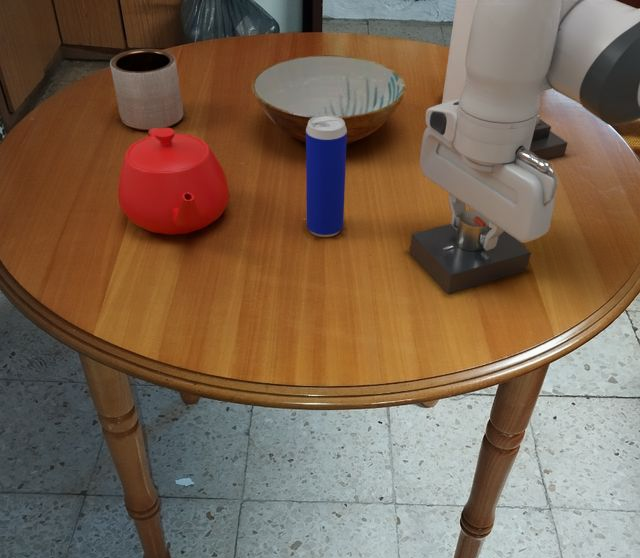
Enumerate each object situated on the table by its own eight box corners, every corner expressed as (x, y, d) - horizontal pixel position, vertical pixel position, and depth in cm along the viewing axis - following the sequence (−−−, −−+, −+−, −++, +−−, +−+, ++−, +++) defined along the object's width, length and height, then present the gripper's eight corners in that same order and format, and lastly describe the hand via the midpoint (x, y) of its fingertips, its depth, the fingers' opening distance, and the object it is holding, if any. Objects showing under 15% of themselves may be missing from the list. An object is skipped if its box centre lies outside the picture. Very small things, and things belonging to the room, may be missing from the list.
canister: (527, 118, 120) (558, -11, 105) (454, 123, 118) (474, -8, 103) (502, 87, 128) (527, -36, 114) (433, 91, 127) (449, -33, 112)
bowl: (358, 92, 127) (361, 45, 121) (429, 149, 112) (436, 99, 106) (233, 116, 119) (228, 68, 113) (290, 181, 104) (289, 129, 98)
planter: (140, 138, 113) (128, 79, 106) (110, 116, 119) (97, 58, 112) (195, 121, 118) (188, 62, 111) (164, 100, 124) (155, 43, 116)
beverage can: (338, 217, 98) (341, 112, 86) (346, 236, 94) (351, 129, 83) (303, 221, 97) (302, 115, 86) (310, 240, 93) (310, 133, 82)
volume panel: (483, 233, 95) (487, 212, 93) (525, 271, 89) (531, 251, 87) (409, 252, 92) (411, 232, 89) (447, 294, 86) (451, 273, 83)
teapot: (110, 185, 103) (91, 104, 94) (210, 168, 107) (200, 88, 98) (141, 278, 87) (121, 191, 78) (256, 254, 91) (250, 168, 82)
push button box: (520, 125, 118) (526, 102, 115) (564, 155, 111) (571, 131, 108) (472, 136, 115) (476, 112, 112) (513, 167, 108) (519, 143, 105)
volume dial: (449, 238, 89) (453, 212, 86) (474, 231, 90) (480, 205, 87) (466, 254, 86) (471, 227, 83) (492, 246, 87) (498, 220, 85)
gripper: (581, 161, 73) (548, 269, 83) (457, 93, 84) (441, 195, 94) (539, 177, 70) (510, 286, 81) (417, 105, 82) (405, 208, 92)
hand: (472, 236), depth 88 cm, fingers closed on volume dial, 4 cm apart
